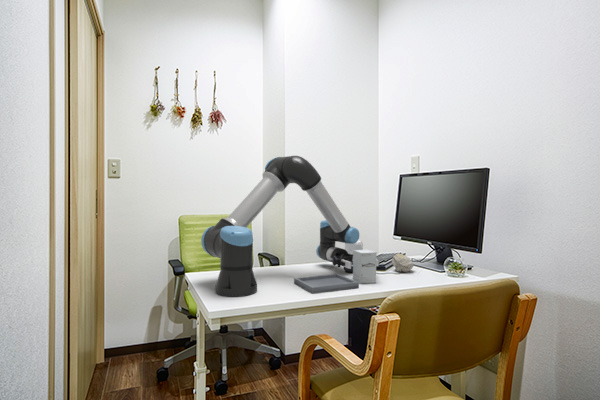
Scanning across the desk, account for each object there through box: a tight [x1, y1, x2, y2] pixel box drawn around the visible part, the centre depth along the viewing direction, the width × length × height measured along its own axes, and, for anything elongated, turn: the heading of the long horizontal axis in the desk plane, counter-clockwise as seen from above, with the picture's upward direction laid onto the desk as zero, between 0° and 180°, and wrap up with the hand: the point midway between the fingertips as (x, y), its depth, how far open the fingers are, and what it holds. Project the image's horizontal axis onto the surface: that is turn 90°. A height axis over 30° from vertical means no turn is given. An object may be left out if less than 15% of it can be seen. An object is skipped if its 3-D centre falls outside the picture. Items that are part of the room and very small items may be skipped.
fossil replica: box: [391, 252, 415, 273], centre depth 176 cm, size 12×8×10 cm
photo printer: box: [344, 239, 364, 261], centre depth 195 cm, size 10×4×12 cm, turn 39°
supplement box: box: [352, 249, 378, 285], centre depth 155 cm, size 7×7×13 cm
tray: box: [293, 273, 360, 295], centre depth 147 cm, size 20×16×2 cm
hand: (364, 264), depth 156 cm, fingers open, 13 cm apart
